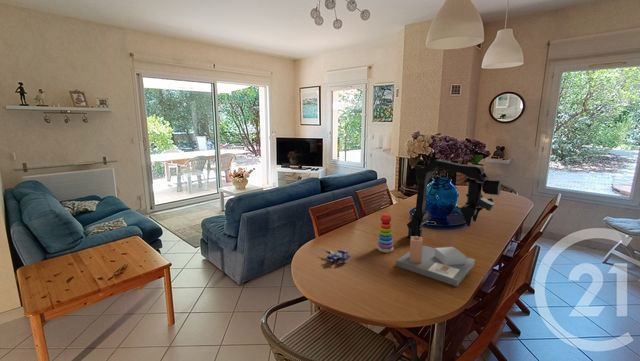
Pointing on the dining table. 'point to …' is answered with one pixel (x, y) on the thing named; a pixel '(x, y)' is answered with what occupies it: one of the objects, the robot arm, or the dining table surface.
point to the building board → (436, 267)
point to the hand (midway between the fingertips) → (471, 223)
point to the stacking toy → (385, 235)
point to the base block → (449, 256)
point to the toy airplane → (337, 256)
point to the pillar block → (416, 249)
